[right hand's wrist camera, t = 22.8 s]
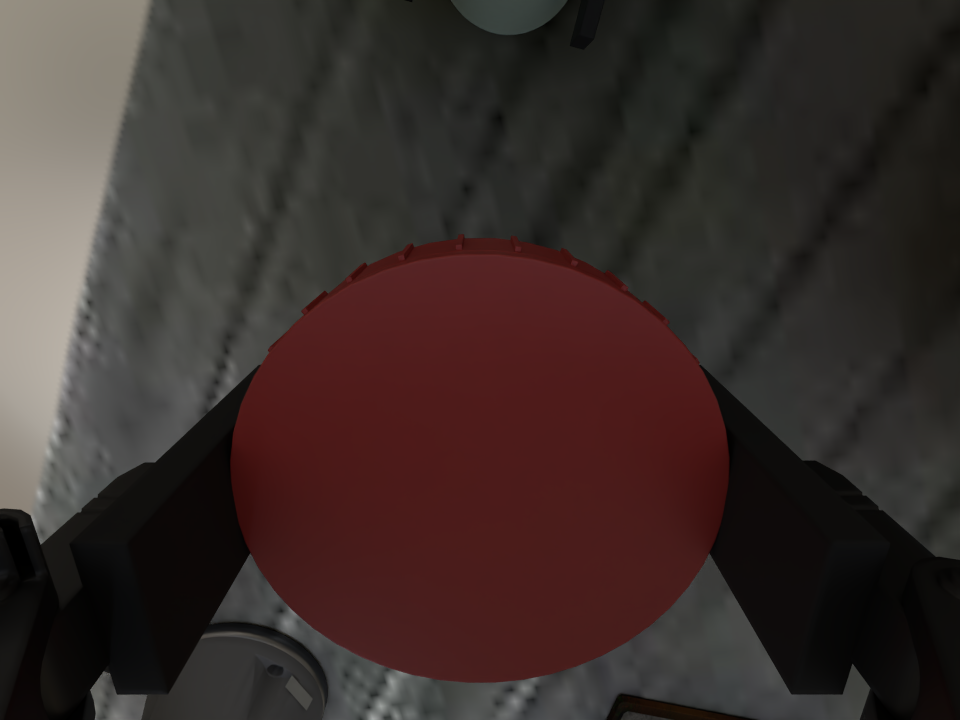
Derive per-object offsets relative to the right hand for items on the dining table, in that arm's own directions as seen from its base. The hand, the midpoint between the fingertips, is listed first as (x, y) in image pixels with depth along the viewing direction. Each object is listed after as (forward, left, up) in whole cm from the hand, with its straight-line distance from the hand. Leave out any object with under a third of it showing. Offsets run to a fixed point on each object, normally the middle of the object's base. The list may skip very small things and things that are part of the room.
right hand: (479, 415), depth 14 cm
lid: (0, 0, +3) cm, 3 cm away
